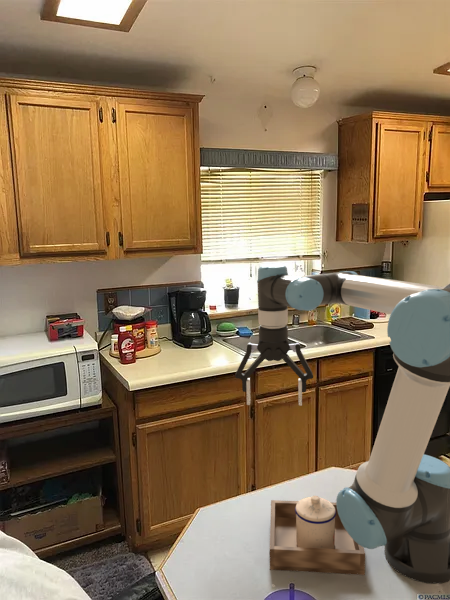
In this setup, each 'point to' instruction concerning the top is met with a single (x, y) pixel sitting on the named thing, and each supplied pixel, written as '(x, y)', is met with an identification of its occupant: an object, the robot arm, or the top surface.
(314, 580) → the top surface
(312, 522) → the teacup with lid
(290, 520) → the walnut box
